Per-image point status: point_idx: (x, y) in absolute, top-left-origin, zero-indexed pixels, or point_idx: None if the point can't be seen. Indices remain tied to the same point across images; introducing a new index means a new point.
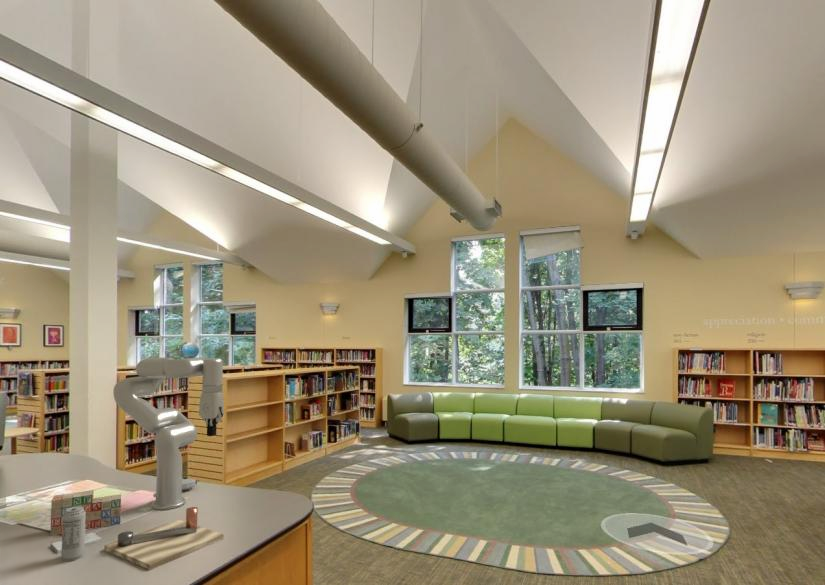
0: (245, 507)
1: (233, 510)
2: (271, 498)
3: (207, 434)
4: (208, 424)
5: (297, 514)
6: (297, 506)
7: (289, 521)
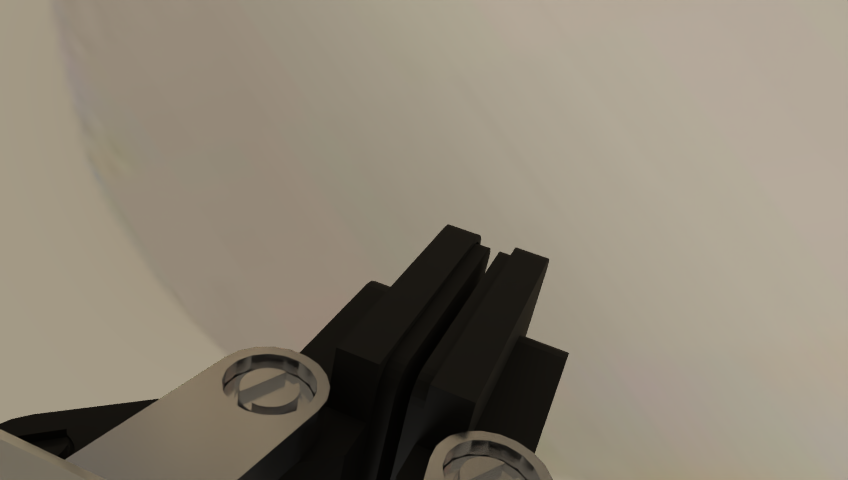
0: (427, 164)
1: (466, 94)
2: None
3: (513, 256)
4: (434, 468)
5: (101, 134)
6: (174, 242)
7: (69, 29)
